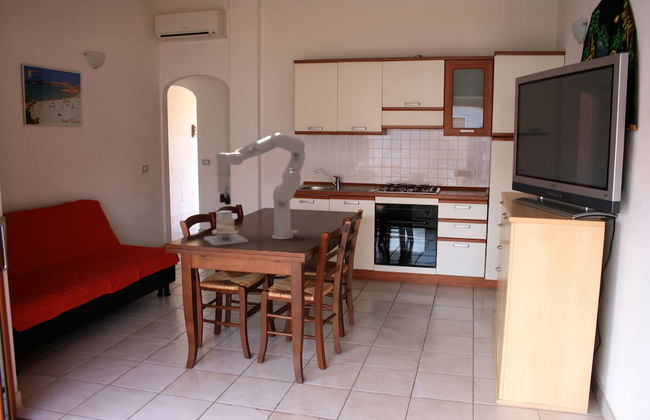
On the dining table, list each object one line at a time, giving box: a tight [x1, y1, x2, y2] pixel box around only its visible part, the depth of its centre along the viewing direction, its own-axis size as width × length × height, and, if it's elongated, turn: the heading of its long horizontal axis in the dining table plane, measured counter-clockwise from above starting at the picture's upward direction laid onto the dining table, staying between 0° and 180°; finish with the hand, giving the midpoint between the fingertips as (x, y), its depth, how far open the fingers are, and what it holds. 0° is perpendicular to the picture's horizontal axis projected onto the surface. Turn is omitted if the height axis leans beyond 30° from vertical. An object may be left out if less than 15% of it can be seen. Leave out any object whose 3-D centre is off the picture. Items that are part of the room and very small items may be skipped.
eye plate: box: [203, 233, 249, 246], centre depth 327 cm, size 20×20×2 cm
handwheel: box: [211, 217, 239, 238], centre depth 326 cm, size 15×15×11 cm
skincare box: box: [215, 210, 233, 219], centre depth 344 cm, size 8×6×15 cm
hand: (225, 203), depth 324 cm, fingers open, 9 cm apart
